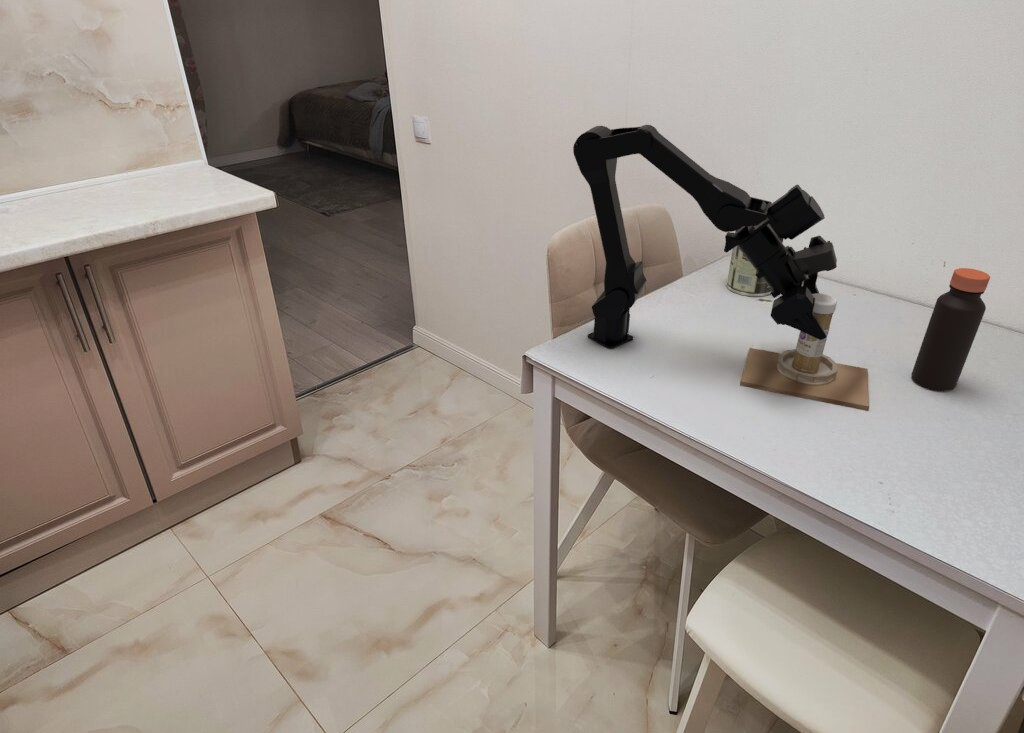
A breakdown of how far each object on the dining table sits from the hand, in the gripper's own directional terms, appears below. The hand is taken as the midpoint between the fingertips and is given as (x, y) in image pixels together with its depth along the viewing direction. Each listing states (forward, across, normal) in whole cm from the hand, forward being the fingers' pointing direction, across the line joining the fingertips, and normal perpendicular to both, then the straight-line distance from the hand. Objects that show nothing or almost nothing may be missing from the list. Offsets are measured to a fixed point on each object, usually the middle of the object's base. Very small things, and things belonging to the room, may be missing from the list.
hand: (824, 326), depth 112 cm
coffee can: (-3, +36, +17) cm, 40 cm away
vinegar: (+21, +6, -6) cm, 22 cm away
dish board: (+6, -1, +8) cm, 10 cm away
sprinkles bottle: (+5, 0, +7) cm, 9 cm away
